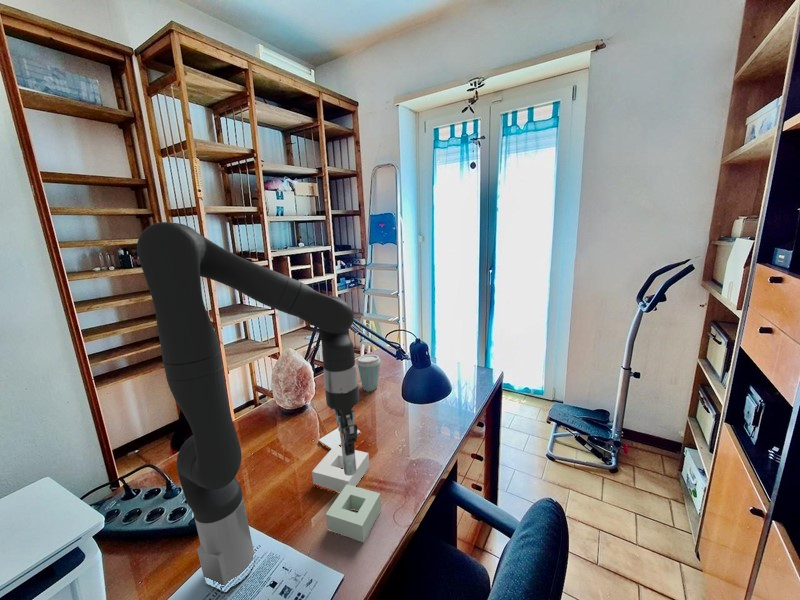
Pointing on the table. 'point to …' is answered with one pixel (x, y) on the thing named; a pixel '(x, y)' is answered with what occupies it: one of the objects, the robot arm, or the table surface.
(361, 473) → the dock block
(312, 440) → the table surface
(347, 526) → the block
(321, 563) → the table surface
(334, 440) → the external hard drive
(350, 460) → the steel pin
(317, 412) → the table surface
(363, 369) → the disposable coffee cup
